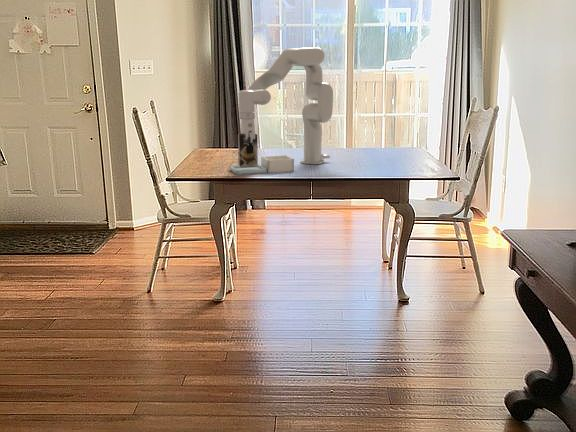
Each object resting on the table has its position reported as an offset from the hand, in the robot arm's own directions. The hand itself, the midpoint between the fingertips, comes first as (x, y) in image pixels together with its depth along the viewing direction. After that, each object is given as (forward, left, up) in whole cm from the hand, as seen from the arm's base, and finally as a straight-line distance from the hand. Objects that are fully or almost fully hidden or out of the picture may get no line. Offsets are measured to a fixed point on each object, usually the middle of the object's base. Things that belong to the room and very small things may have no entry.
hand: (247, 151), depth 284 cm
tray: (0, 0, -10) cm, 10 cm away
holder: (-15, 0, -10) cm, 18 cm away
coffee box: (0, 0, -7) cm, 7 cm away
